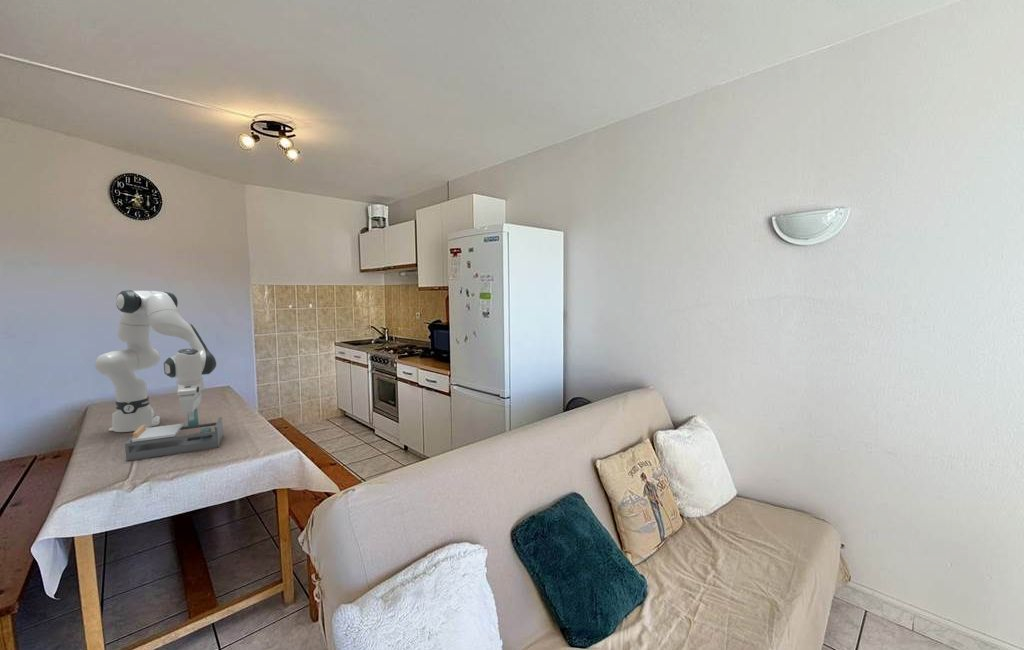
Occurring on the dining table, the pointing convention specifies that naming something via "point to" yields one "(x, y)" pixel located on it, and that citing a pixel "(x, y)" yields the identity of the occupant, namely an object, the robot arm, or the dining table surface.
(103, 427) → the dining table surface
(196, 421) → the teal rounded capsule
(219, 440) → the housing
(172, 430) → the lid
